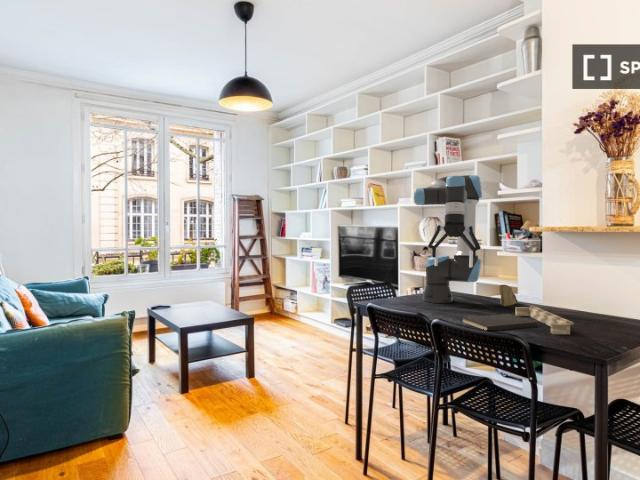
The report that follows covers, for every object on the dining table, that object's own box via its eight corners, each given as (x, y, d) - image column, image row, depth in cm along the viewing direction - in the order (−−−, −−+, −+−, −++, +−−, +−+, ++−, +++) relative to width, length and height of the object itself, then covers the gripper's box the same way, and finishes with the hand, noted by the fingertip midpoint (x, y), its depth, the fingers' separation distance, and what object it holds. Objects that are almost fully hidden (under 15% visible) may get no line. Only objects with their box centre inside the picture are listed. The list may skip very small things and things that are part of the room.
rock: (514, 297, 217) (494, 294, 217) (520, 285, 212) (501, 283, 212) (520, 313, 209) (500, 311, 209) (527, 301, 203) (507, 299, 203)
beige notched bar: (515, 315, 186) (515, 305, 186) (532, 315, 186) (533, 305, 186) (552, 334, 155) (552, 322, 155) (573, 334, 155) (573, 322, 155)
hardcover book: (461, 323, 176) (461, 317, 176) (508, 319, 182) (508, 313, 182) (487, 332, 160) (487, 326, 160) (537, 327, 167) (537, 322, 167)
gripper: (424, 211, 171) (422, 264, 169) (489, 213, 167) (488, 267, 166) (422, 214, 178) (420, 265, 176) (484, 216, 175) (483, 268, 173)
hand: (453, 266), depth 171 cm, fingers open, 13 cm apart
